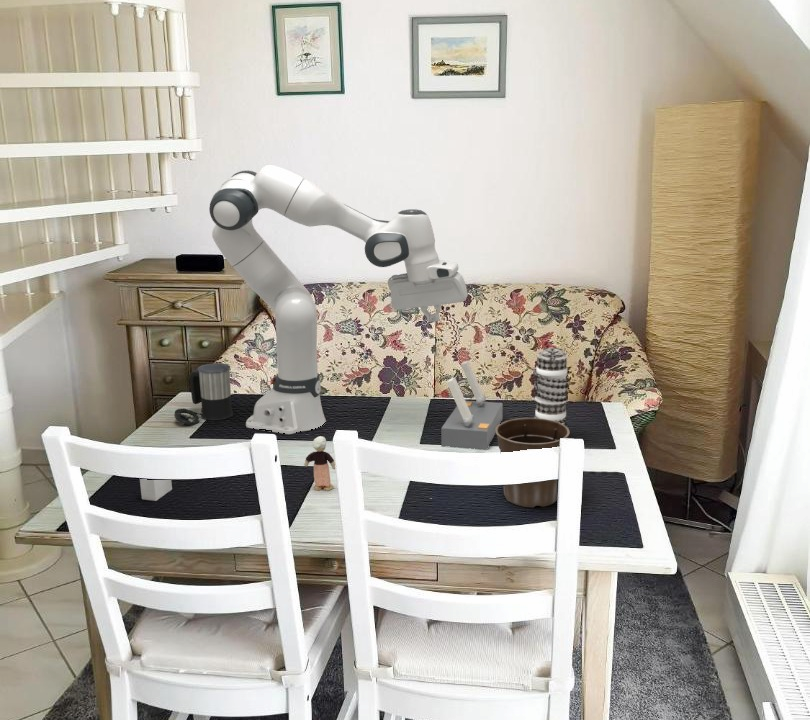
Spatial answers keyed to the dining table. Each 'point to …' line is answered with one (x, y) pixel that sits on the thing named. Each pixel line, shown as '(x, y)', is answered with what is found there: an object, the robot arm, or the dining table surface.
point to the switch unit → (472, 426)
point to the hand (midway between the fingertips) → (433, 321)
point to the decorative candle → (551, 385)
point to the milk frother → (209, 394)
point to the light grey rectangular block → (154, 488)
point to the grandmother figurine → (321, 464)
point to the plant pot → (526, 437)
